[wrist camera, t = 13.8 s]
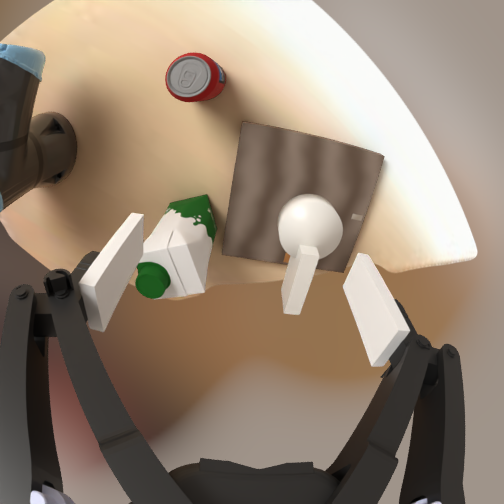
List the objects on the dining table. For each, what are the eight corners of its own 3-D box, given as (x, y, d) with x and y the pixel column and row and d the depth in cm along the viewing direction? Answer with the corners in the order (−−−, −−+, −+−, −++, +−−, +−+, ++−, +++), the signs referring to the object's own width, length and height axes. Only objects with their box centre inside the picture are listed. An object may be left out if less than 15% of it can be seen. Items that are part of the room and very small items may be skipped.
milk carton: (164, 199, 49) (119, 260, 32) (211, 188, 48) (187, 247, 31) (178, 241, 53) (147, 313, 36) (224, 232, 52) (209, 306, 35)
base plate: (222, 248, 54) (221, 254, 52) (242, 121, 42) (242, 122, 40) (341, 267, 56) (343, 273, 54) (379, 153, 44) (384, 156, 42)
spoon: (284, 188, 39) (288, 204, 34) (343, 200, 40) (356, 217, 35) (262, 286, 48) (263, 311, 43) (313, 292, 49) (318, 316, 44)
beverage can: (234, 70, 37) (226, 62, 27) (214, 106, 40) (201, 111, 30) (195, 55, 36) (175, 43, 26) (177, 91, 39) (152, 91, 29)
